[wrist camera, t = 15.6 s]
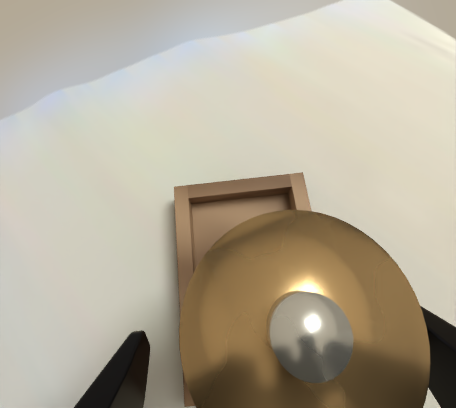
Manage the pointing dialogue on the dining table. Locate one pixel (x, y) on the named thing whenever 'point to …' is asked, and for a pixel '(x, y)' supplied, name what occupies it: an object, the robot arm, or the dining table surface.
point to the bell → (302, 320)
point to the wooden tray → (226, 217)
